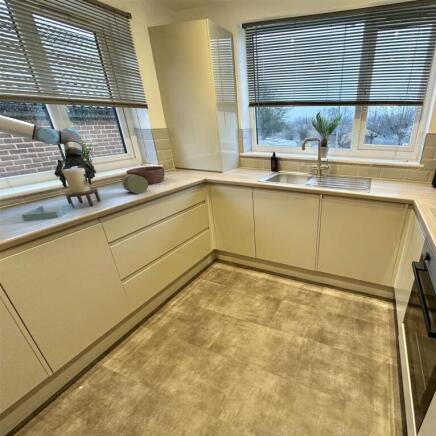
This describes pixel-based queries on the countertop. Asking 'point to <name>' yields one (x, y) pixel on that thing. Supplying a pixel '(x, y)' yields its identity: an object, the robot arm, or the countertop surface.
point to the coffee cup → (76, 179)
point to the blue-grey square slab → (46, 213)
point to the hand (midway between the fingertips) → (77, 184)
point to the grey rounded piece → (134, 183)
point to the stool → (86, 193)
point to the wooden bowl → (149, 173)
